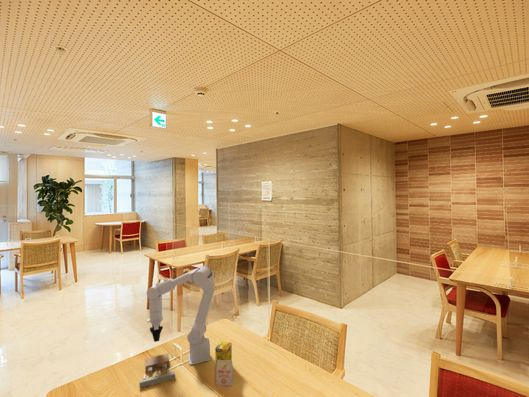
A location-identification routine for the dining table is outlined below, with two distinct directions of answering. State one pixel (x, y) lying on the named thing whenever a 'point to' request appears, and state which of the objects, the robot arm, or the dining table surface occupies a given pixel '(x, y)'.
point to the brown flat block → (156, 363)
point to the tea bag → (224, 373)
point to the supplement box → (223, 351)
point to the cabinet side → (157, 379)
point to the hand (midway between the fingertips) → (156, 337)
